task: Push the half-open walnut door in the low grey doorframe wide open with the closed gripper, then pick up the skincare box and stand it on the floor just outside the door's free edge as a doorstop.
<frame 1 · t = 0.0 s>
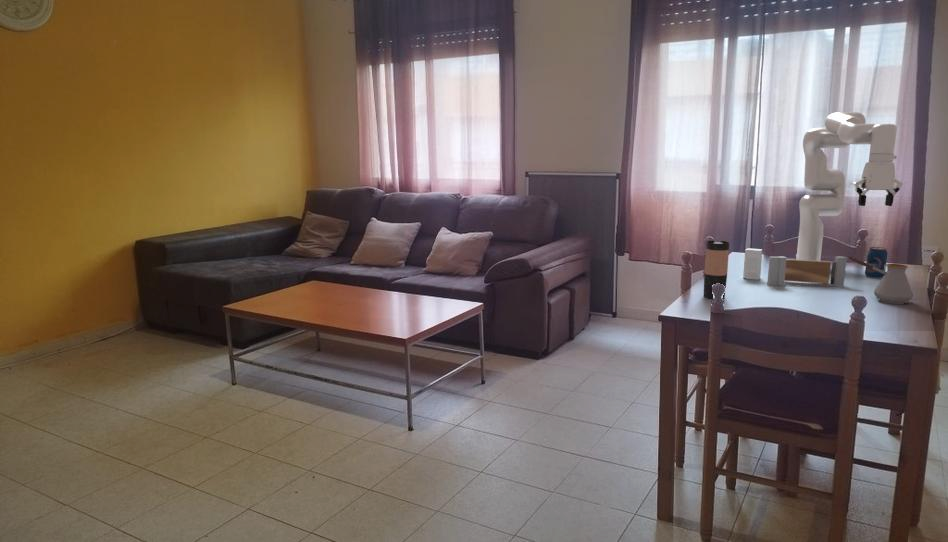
hand: (875, 205, 239), 31 cm above the table, tool pointing down, fingers open, 9 cm apart
door: (807, 271, 252), point 5 cm above the table, hinge at 20.0°
travel mug: (713, 297, 232), on the table
doorframe: (805, 284, 250), on the table
skincare box: (751, 278, 262), on the table
soda can: (874, 277, 264), on the table
coffee pot: (875, 300, 227), on the table
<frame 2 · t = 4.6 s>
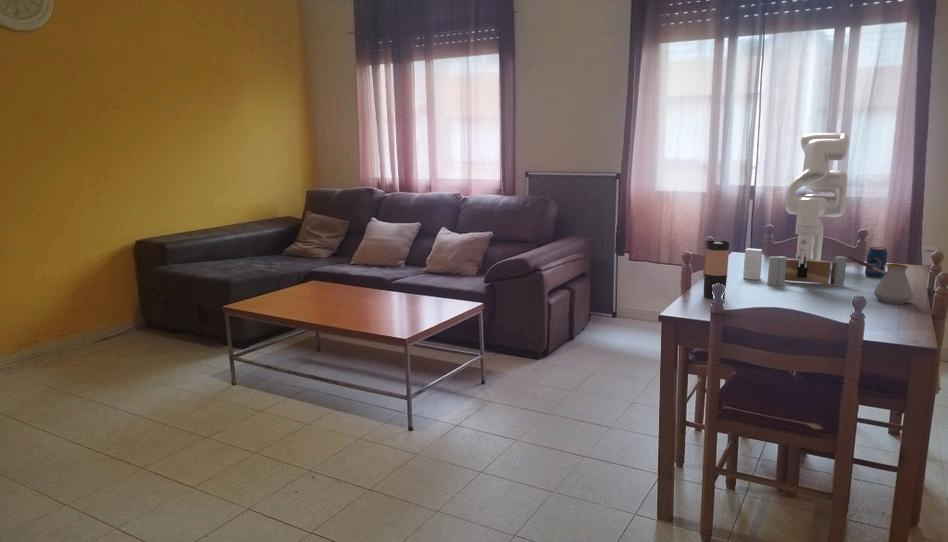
hand: (801, 277, 250), 3 cm above the table, tool pointing down, fingers closed
door: (807, 271, 253), point 5 cm above the table, hinge at 21.4°, touching gripper
everything else where it was.
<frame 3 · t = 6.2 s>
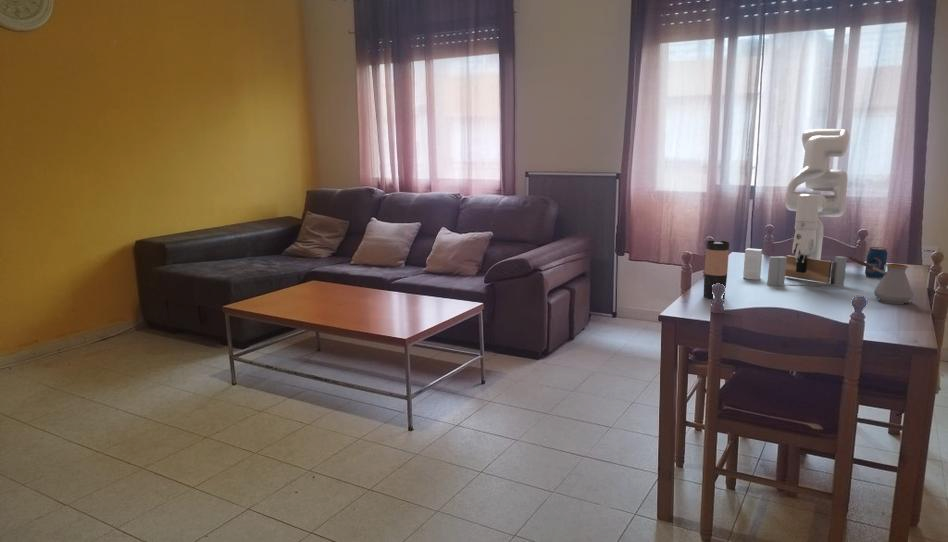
hand: (800, 272, 255), 4 cm above the table, tool pointing down, fingers closed
door: (809, 269, 256), point 5 cm above the table, hinge at 51.2°, touching gripper
everything else where it was.
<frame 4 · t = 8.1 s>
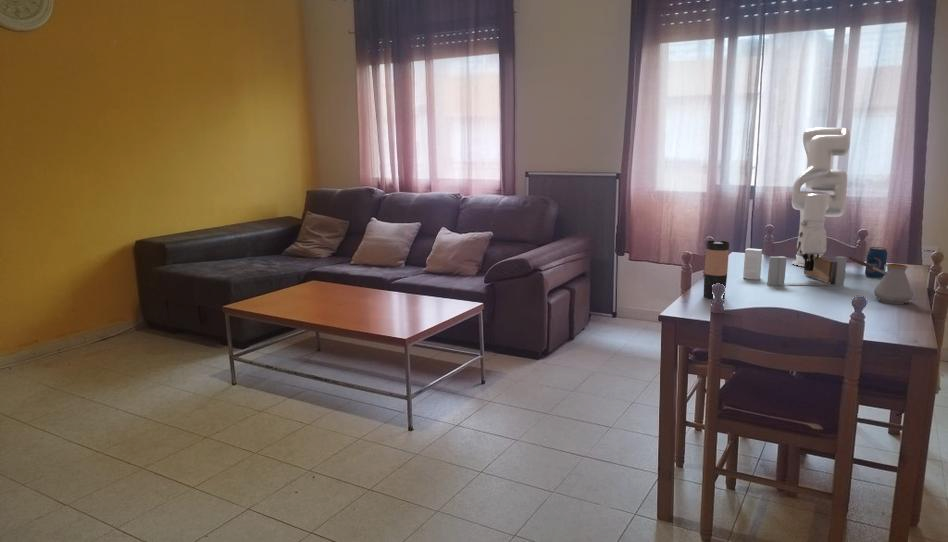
hand: (808, 270, 259), 4 cm above the table, tool pointing down, fingers closed
door: (819, 268, 258), point 5 cm above the table, hinge at 85.8°, touching gripper
everything else where it was.
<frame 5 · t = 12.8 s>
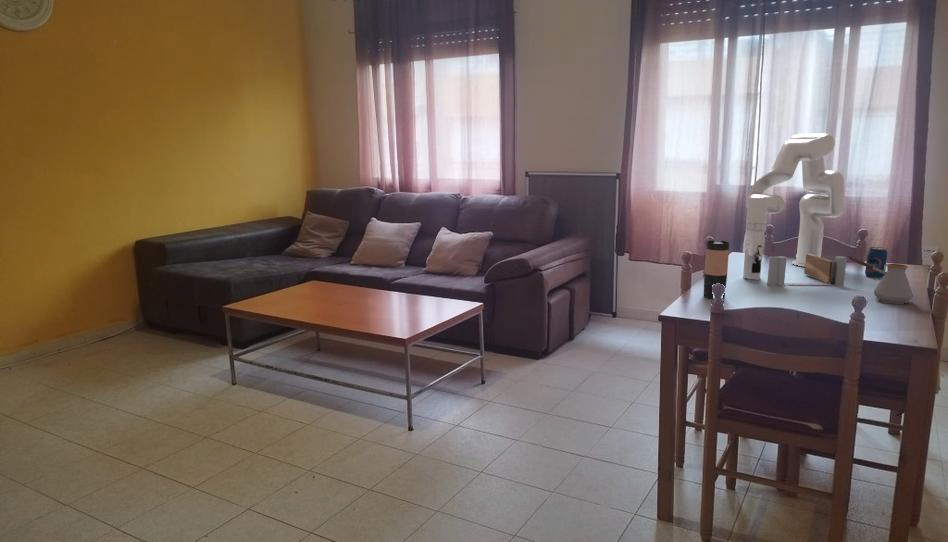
hand: (752, 270, 262), 3 cm above the table, tool pointing down, fingers closed on skincare box, 6 cm apart
door: (820, 268, 258), point 5 cm above the table, hinge at 86.5°
skincare box: (751, 278, 262), on the table, touching gripper
everything else where it was.
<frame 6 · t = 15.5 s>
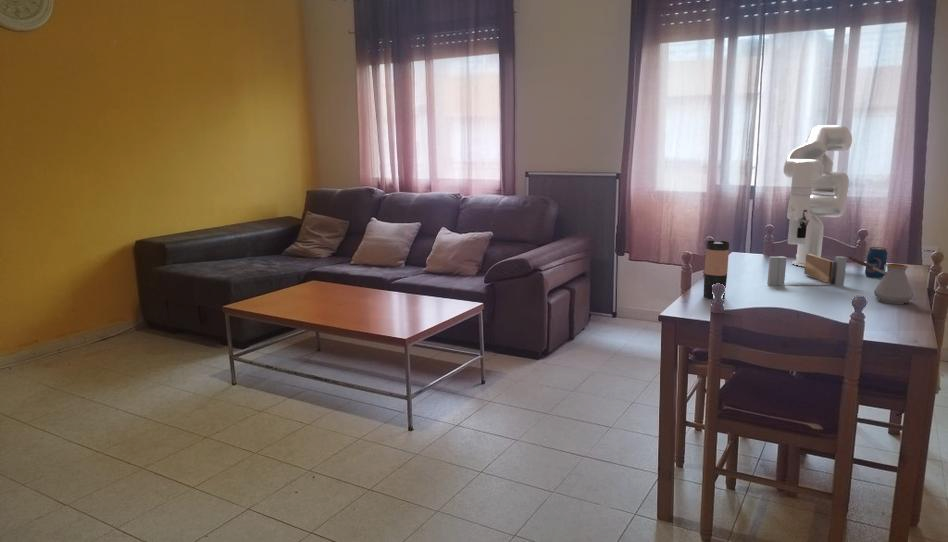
hand: (796, 236, 261), 17 cm above the table, tool pointing down, fingers closed on skincare box, 6 cm apart
skincare box: (796, 244, 261), point 14 cm above the table, touching gripper
everything else where it was.
when the fingers open (4 cm above the table, at t = 18.3 s): skincare box stays where it is, on the table.
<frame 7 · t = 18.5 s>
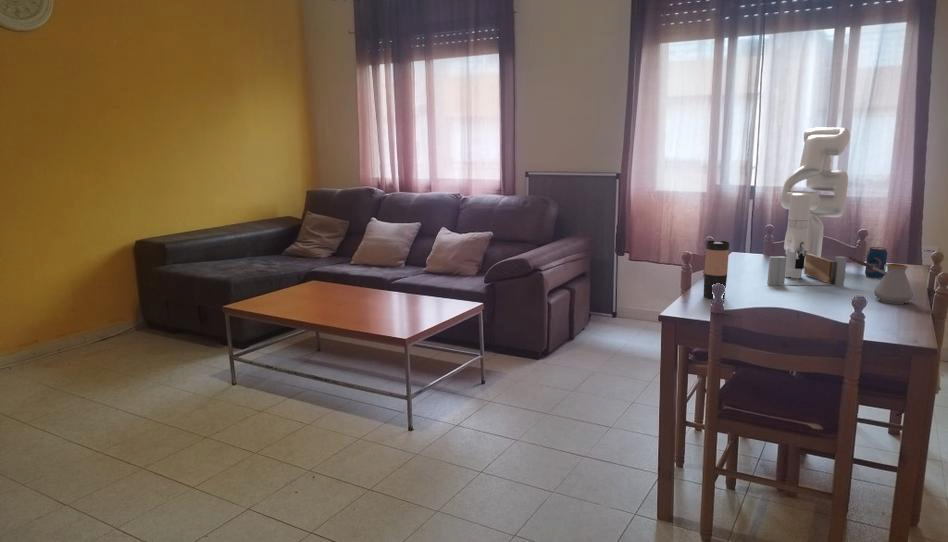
hand: (793, 266, 263), 5 cm above the table, tool pointing down, fingers open, 8 cm apart
skincare box: (792, 277, 264), on the table
everything else where it was.
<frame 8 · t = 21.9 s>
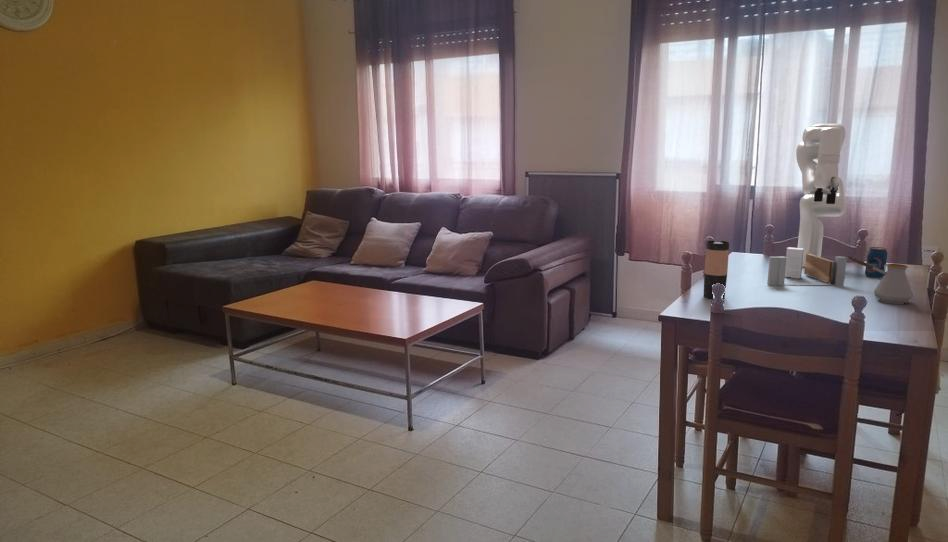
hand: (824, 202, 260), 30 cm above the table, tool pointing down, fingers open, 9 cm apart
nothing on the table moved.
at the end: door at +86° (first picture: +20°); skincare box inside the target area (0.4 cm from its centre), on the table; skincare box tilted 0° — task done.
